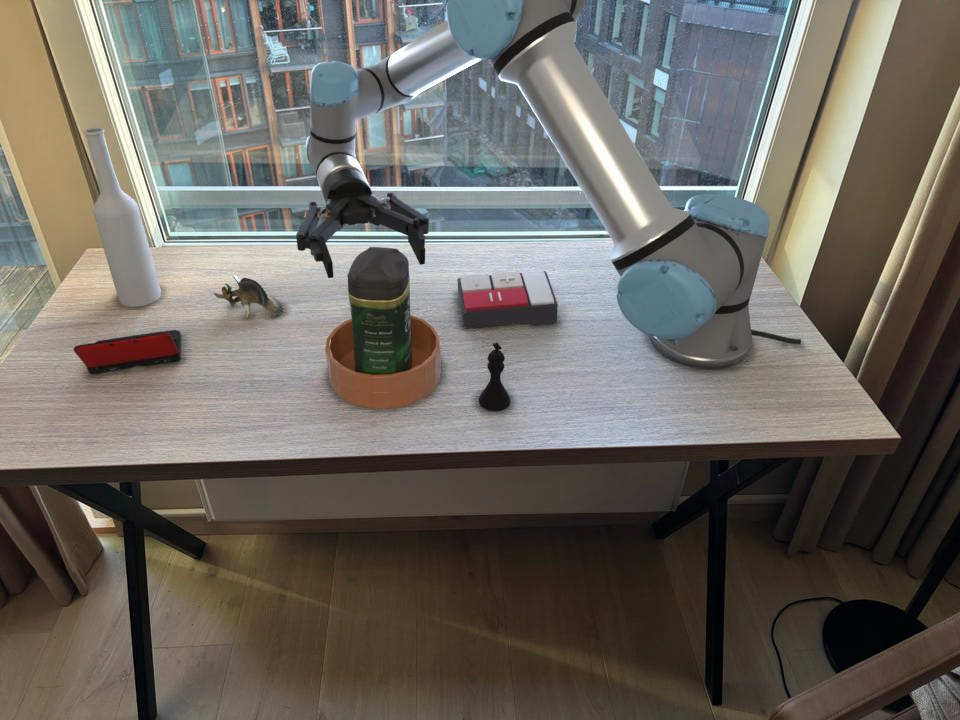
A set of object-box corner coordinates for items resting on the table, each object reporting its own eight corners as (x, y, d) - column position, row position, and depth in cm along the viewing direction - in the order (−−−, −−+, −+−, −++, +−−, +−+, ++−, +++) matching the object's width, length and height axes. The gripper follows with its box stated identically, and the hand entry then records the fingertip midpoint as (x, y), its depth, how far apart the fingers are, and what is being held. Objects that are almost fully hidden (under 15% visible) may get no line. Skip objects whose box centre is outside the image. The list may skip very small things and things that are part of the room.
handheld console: (182, 334, 119) (171, 293, 114) (181, 375, 110) (169, 333, 106) (94, 346, 116) (79, 304, 111) (86, 390, 107) (70, 346, 103)
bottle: (168, 287, 129) (126, 123, 113) (149, 308, 124) (102, 139, 108) (131, 284, 130) (84, 120, 114) (111, 304, 125) (58, 136, 108)
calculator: (456, 273, 128) (546, 266, 129) (458, 295, 130) (545, 288, 131) (462, 309, 119) (558, 300, 120) (463, 331, 122) (557, 323, 123)
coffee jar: (407, 394, 107) (401, 279, 96) (351, 390, 108) (339, 275, 97) (417, 353, 115) (413, 242, 104) (364, 350, 116) (355, 239, 105)
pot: (453, 351, 116) (453, 320, 113) (421, 417, 104) (420, 385, 101) (354, 334, 119) (351, 304, 116) (311, 397, 107) (306, 366, 104)
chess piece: (494, 387, 109) (497, 329, 104) (516, 402, 107) (520, 343, 101) (472, 400, 107) (473, 341, 101) (494, 416, 104) (496, 356, 98)
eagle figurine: (215, 319, 120) (268, 315, 118) (211, 273, 120) (264, 268, 118) (239, 319, 127) (290, 315, 126) (235, 276, 127) (286, 271, 125)
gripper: (418, 198, 131) (457, 271, 117) (269, 217, 124) (292, 297, 110) (419, 159, 126) (460, 230, 112) (263, 175, 119) (287, 254, 105)
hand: (377, 263), depth 111 cm, fingers open, 13 cm apart
